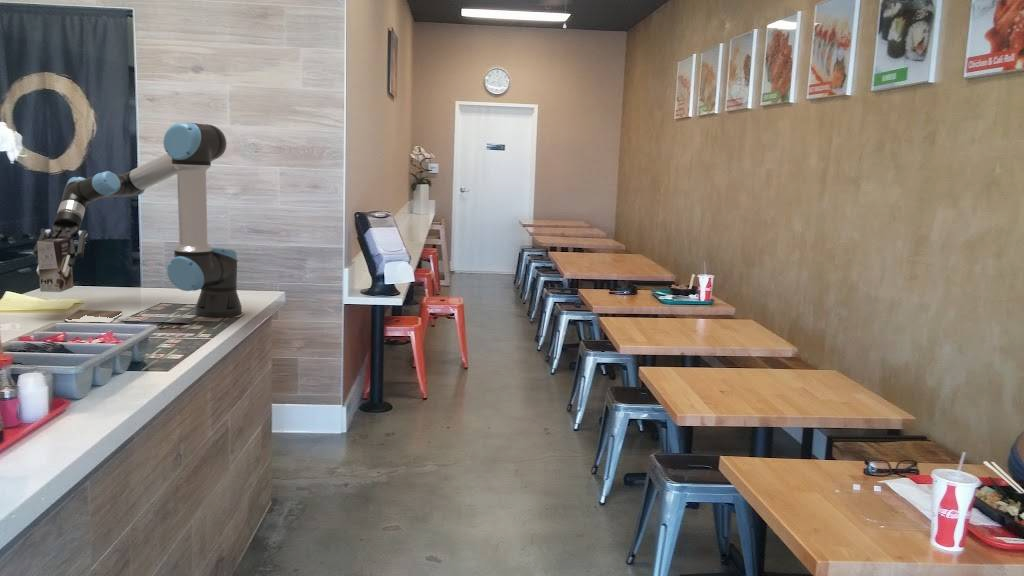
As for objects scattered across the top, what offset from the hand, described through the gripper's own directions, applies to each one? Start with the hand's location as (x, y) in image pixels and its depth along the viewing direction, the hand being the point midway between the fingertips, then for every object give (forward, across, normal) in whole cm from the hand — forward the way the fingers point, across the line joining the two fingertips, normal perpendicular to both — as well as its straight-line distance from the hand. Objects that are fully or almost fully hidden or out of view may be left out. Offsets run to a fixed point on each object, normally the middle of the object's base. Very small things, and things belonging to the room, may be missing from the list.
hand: (52, 273), depth 238 cm
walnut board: (+8, -11, -13) cm, 19 cm away
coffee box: (+2, 0, -6) cm, 7 cm away
